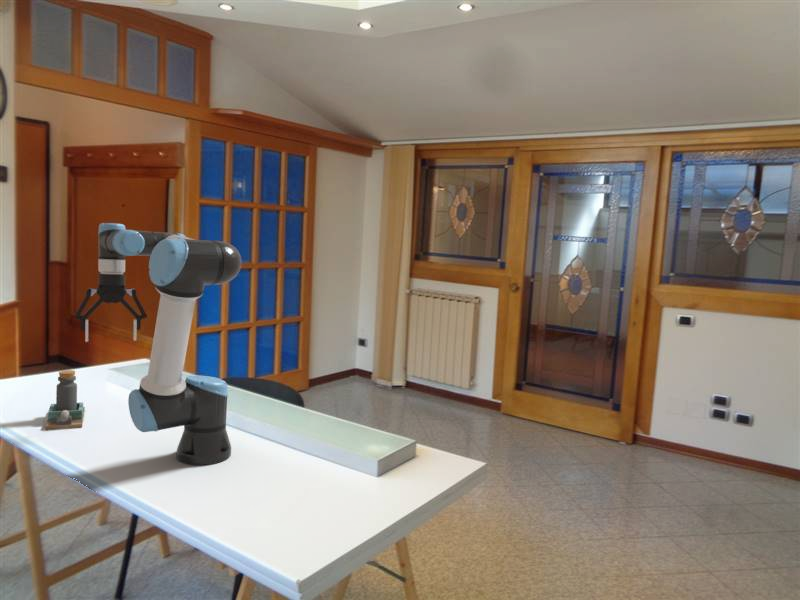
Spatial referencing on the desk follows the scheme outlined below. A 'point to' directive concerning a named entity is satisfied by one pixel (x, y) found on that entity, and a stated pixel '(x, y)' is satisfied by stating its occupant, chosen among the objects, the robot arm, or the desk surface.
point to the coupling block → (65, 418)
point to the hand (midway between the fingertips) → (111, 340)
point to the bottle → (66, 391)
